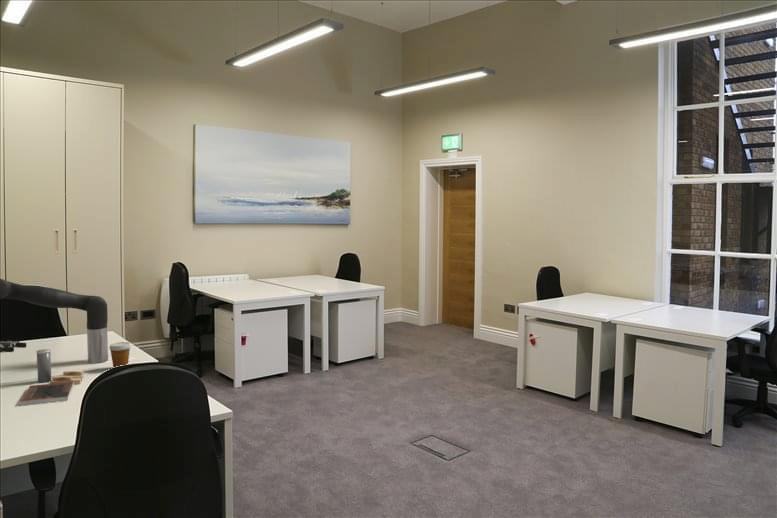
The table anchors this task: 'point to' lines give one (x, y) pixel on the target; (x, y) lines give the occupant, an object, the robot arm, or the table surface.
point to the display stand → (69, 377)
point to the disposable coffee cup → (120, 353)
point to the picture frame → (47, 393)
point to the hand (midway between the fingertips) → (19, 347)
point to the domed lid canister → (44, 365)
